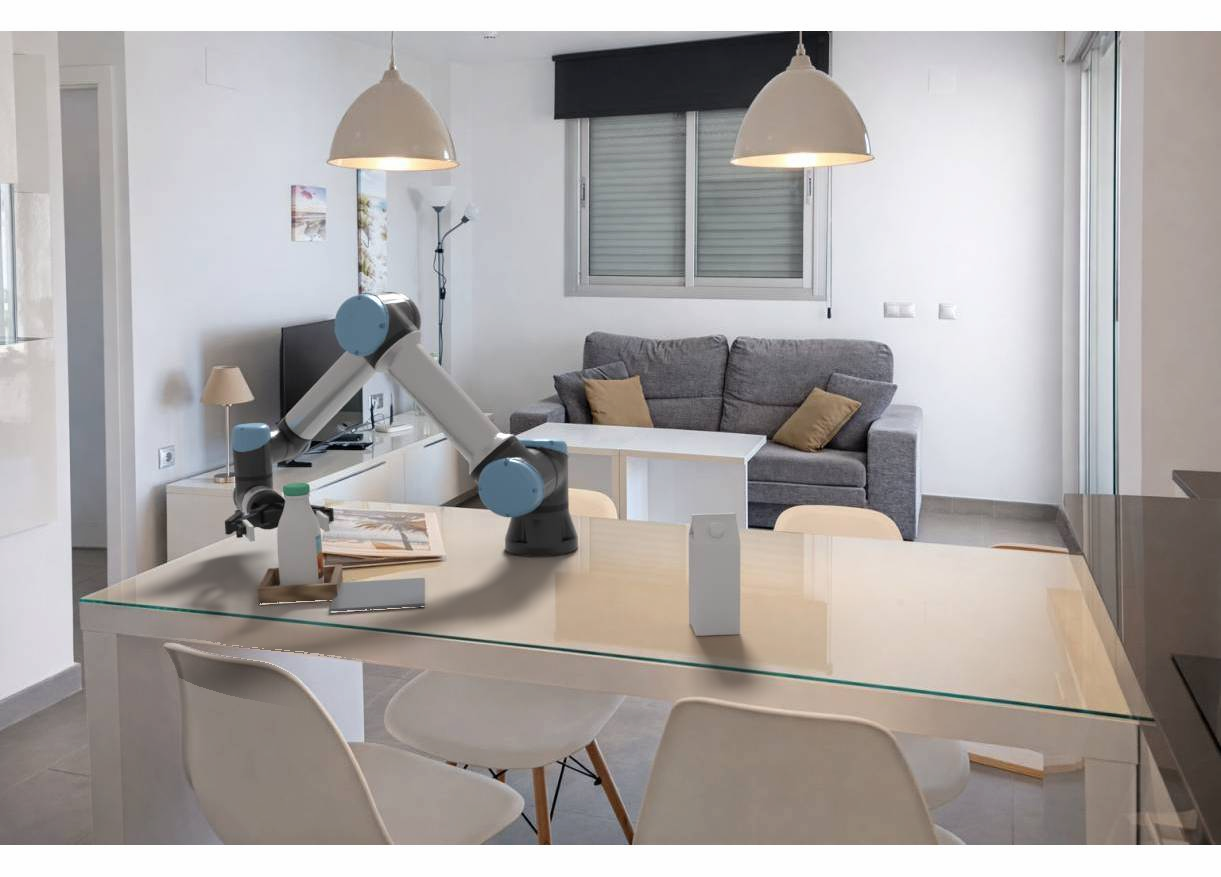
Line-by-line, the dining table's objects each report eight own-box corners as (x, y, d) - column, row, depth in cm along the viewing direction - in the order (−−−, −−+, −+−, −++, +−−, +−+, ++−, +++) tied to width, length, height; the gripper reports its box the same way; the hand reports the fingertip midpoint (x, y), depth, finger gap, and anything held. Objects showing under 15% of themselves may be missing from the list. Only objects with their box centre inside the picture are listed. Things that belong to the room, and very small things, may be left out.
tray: (342, 579, 210) (342, 564, 209) (337, 600, 197) (336, 584, 196) (269, 584, 207) (268, 568, 207) (259, 605, 194) (258, 589, 194)
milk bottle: (312, 599, 198) (306, 489, 194) (272, 597, 199) (265, 488, 196) (331, 587, 205) (325, 481, 202) (293, 585, 207) (286, 479, 203)
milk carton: (688, 622, 182) (688, 509, 179) (731, 620, 183) (731, 508, 180) (695, 637, 175) (695, 519, 172) (740, 635, 176) (740, 518, 173)
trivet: (424, 581, 207) (424, 577, 207) (424, 607, 192) (424, 603, 192) (337, 587, 205) (337, 582, 205) (330, 613, 189) (329, 609, 189)
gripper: (328, 518, 229) (357, 540, 211) (201, 534, 217) (221, 558, 199) (326, 482, 228) (355, 501, 209) (198, 496, 216) (218, 517, 198)
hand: (290, 529), depth 204 cm, fingers open, 13 cm apart
